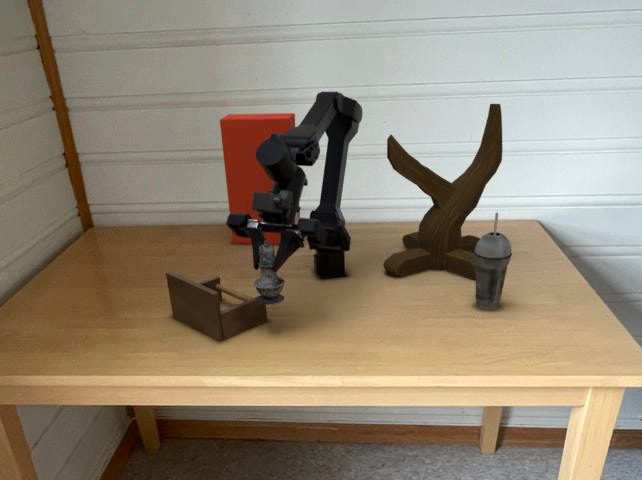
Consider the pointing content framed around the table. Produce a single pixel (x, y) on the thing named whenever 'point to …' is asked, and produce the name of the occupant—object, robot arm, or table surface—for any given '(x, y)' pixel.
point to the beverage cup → (491, 268)
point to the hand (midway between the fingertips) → (264, 270)
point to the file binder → (249, 161)
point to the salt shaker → (268, 278)
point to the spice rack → (212, 307)
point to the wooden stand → (446, 207)
